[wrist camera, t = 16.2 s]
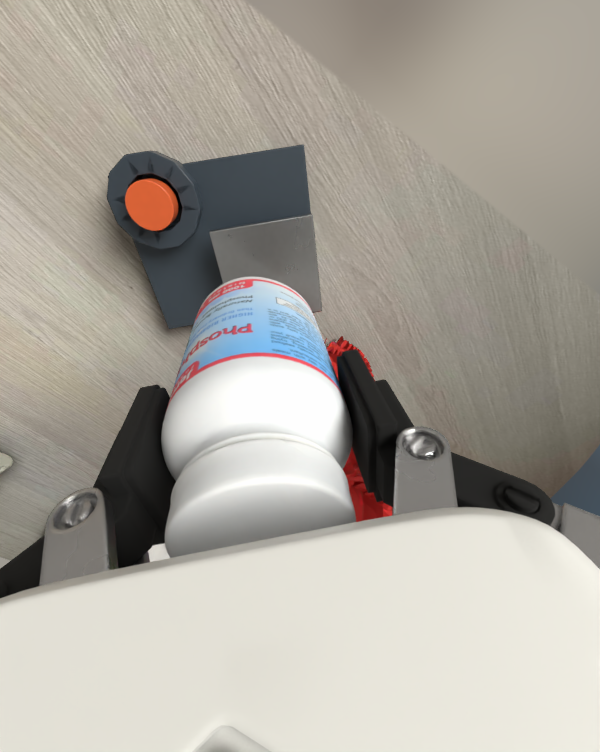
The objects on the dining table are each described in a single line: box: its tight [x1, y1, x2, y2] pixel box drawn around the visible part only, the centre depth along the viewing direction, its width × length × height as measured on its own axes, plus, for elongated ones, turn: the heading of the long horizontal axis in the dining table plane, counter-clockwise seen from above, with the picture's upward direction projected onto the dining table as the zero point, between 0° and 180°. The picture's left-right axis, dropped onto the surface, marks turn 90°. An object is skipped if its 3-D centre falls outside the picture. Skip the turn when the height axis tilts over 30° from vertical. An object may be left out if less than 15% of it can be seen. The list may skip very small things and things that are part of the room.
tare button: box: [125, 178, 178, 231], centre depth 22 cm, size 3×3×2 cm
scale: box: [107, 145, 311, 329], centre depth 26 cm, size 13×14×4 cm
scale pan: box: [209, 214, 322, 313], centre depth 26 cm, size 8×8×1 cm
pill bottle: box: [161, 277, 356, 558], centre depth 12 cm, size 6×6×11 cm
